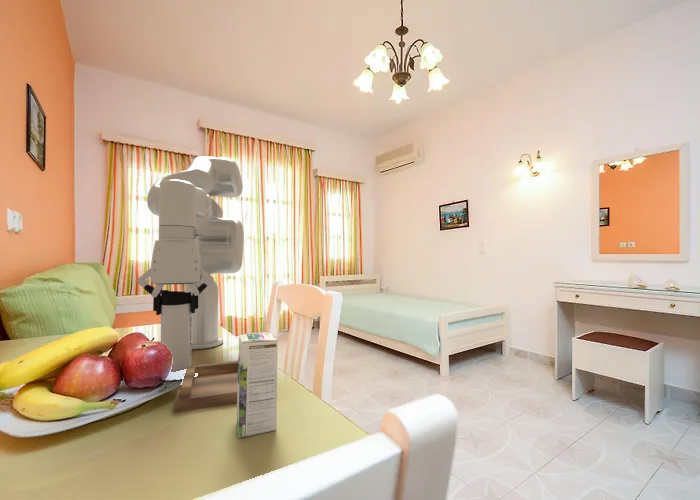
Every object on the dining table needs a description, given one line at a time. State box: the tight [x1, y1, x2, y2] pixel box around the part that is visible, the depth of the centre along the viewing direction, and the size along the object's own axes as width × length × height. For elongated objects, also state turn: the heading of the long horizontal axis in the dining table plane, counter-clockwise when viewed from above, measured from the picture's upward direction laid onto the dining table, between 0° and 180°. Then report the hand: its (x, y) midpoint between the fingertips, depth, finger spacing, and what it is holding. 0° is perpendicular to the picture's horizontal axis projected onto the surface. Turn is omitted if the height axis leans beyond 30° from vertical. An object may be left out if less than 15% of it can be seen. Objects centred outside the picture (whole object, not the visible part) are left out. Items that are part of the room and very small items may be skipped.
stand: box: [173, 360, 238, 413], centre depth 66 cm, size 14×14×4 cm
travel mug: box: [160, 289, 193, 372], centre depth 74 cm, size 6×7×20 cm
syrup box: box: [236, 332, 279, 438], centre depth 53 cm, size 6×6×14 cm
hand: (176, 312), depth 74 cm, fingers closed on travel mug, 6 cm apart
